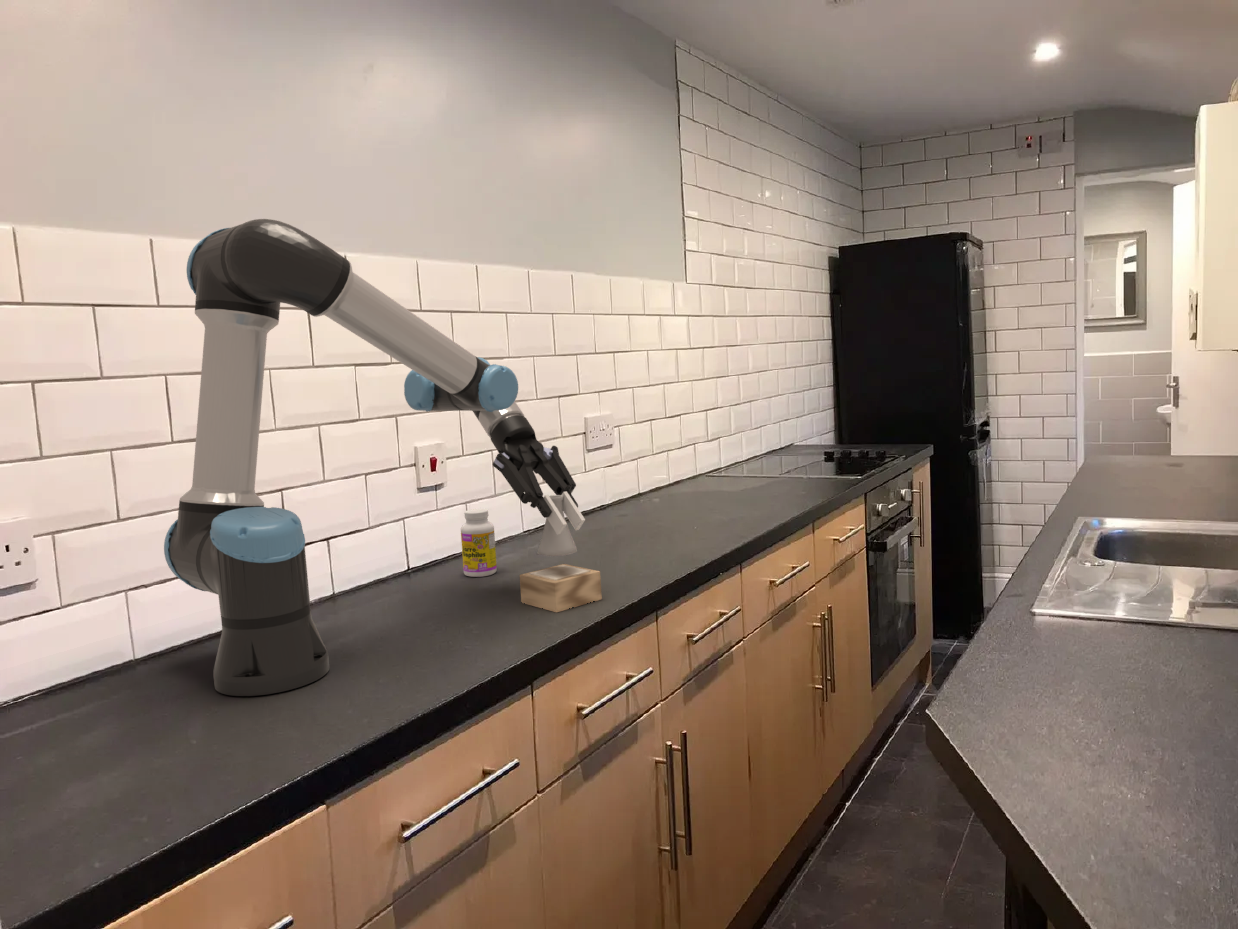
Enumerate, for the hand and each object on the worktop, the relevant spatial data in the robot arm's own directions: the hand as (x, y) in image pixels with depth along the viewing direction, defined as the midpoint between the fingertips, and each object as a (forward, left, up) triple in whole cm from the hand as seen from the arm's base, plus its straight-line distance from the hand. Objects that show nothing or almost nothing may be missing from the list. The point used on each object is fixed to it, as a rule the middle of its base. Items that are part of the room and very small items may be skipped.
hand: (571, 526), depth 155 cm
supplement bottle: (+3, +34, -14) cm, 37 cm away
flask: (0, +4, -5) cm, 7 cm away
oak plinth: (0, +4, -14) cm, 14 cm away
